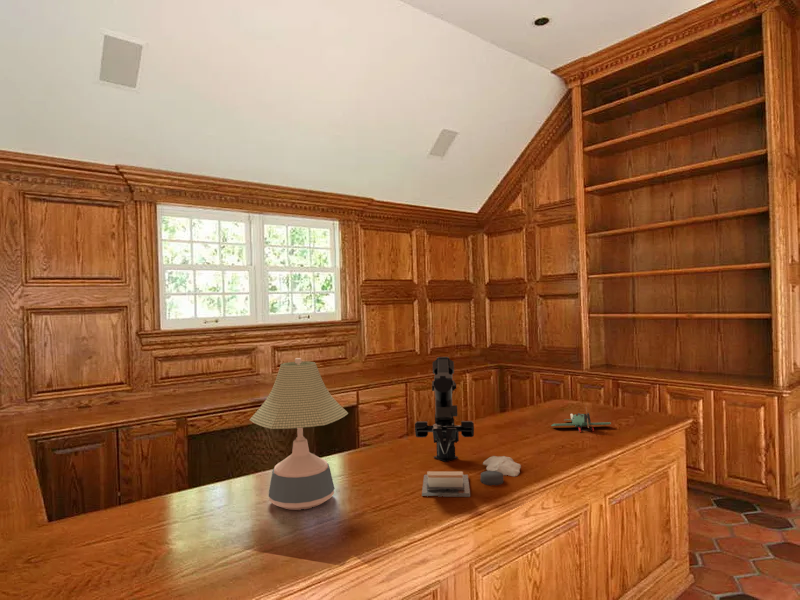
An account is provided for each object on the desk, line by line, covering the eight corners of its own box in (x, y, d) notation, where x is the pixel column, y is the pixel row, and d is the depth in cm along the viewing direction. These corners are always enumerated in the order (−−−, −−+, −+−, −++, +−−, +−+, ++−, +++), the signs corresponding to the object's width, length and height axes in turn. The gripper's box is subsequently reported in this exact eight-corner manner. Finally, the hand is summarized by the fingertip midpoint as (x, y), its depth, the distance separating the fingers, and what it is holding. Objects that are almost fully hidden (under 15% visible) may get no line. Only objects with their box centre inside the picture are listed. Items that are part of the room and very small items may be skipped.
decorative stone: (476, 467, 172) (506, 485, 159) (475, 457, 171) (505, 473, 158) (500, 457, 177) (531, 473, 164) (499, 447, 176) (530, 462, 164)
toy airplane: (619, 431, 209) (615, 405, 211) (559, 433, 209) (556, 407, 212) (599, 431, 230) (596, 407, 233) (545, 433, 231) (543, 409, 233)
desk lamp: (233, 515, 136) (229, 363, 137) (290, 480, 163) (287, 353, 164) (316, 527, 128) (311, 364, 128) (362, 488, 154) (358, 353, 155)
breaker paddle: (427, 484, 150) (425, 470, 141) (464, 484, 149) (464, 470, 140) (427, 490, 149) (425, 476, 140) (464, 490, 148) (464, 476, 139)
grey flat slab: (424, 477, 162) (424, 474, 162) (467, 477, 161) (467, 474, 161) (421, 496, 146) (421, 492, 146) (470, 496, 145) (470, 493, 145)
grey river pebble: (476, 482, 157) (475, 474, 157) (490, 476, 162) (490, 469, 162) (493, 488, 152) (493, 480, 152) (508, 482, 156) (507, 474, 156)
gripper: (414, 396, 161) (413, 440, 150) (472, 395, 159) (475, 440, 148) (416, 415, 169) (415, 458, 158) (472, 414, 167) (475, 458, 156)
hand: (444, 453), depth 155 cm, fingers closed
